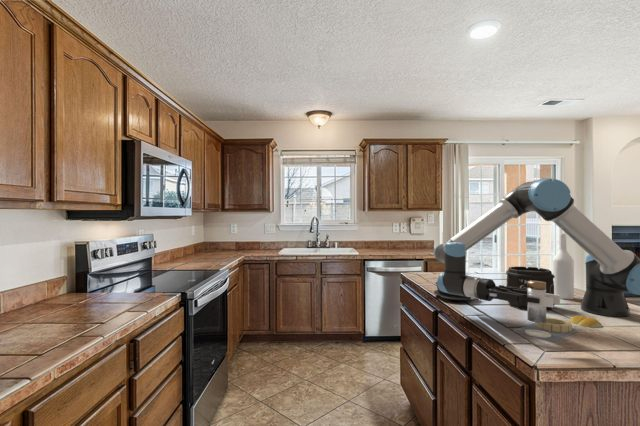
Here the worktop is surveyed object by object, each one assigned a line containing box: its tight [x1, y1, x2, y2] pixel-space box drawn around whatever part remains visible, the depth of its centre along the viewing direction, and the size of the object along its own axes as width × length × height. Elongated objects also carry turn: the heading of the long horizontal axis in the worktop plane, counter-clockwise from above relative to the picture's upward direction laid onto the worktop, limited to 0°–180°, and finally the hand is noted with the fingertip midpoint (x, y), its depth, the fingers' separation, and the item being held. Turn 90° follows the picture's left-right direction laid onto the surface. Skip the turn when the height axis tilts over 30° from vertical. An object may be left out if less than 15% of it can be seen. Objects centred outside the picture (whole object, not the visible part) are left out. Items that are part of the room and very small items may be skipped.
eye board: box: [512, 316, 582, 343], centre depth 112 cm, size 20×12×4 cm, turn 124°
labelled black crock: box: [505, 266, 556, 312], centre depth 149 cm, size 18×18×16 cm
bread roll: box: [569, 315, 603, 328], centre depth 119 cm, size 8×9×4 cm
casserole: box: [433, 281, 472, 301], centre depth 164 cm, size 25×19×8 cm
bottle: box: [552, 232, 575, 300], centre depth 163 cm, size 8×8×30 cm
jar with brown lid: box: [526, 281, 547, 323], centre depth 109 cm, size 5×5×12 cm
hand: (556, 301), depth 105 cm, fingers closed on jar with brown lid, 5 cm apart
